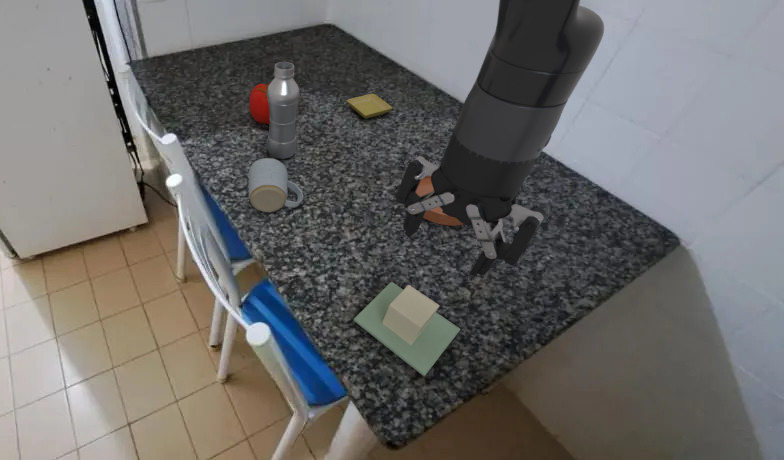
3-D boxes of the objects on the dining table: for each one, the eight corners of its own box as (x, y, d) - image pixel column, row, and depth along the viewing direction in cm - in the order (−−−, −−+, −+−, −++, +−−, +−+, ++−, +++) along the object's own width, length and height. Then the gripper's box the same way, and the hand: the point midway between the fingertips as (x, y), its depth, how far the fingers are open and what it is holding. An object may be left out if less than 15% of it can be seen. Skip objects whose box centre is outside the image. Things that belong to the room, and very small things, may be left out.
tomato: (283, 136, 93) (284, 102, 87) (241, 126, 96) (239, 93, 89) (297, 115, 100) (299, 82, 93) (258, 106, 102) (257, 74, 96)
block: (429, 324, 58) (439, 305, 54) (411, 345, 55) (421, 327, 52) (400, 303, 60) (408, 284, 57) (381, 323, 58) (389, 304, 54)
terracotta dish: (491, 201, 78) (496, 191, 76) (457, 237, 71) (462, 227, 69) (427, 169, 85) (431, 160, 83) (391, 199, 78) (393, 190, 76)
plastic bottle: (296, 162, 86) (303, 73, 71) (266, 162, 86) (266, 73, 71) (296, 146, 90) (301, 58, 76) (266, 145, 90) (267, 58, 76)
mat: (459, 330, 58) (460, 329, 57) (424, 376, 53) (425, 375, 52) (390, 283, 64) (391, 281, 63) (353, 320, 59) (353, 318, 58)
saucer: (363, 122, 98) (365, 115, 96) (344, 106, 103) (346, 99, 102) (391, 115, 100) (393, 107, 99) (371, 100, 106) (373, 92, 104)
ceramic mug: (248, 215, 74) (248, 184, 68) (249, 187, 80) (248, 156, 74) (304, 215, 74) (308, 184, 69) (300, 187, 80) (304, 156, 75)
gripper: (407, 120, 37) (375, 236, 49) (567, 189, 30) (484, 306, 42) (447, 94, 41) (407, 208, 53) (597, 150, 34) (513, 267, 45)
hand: (441, 251), depth 47 cm, fingers open, 8 cm apart
